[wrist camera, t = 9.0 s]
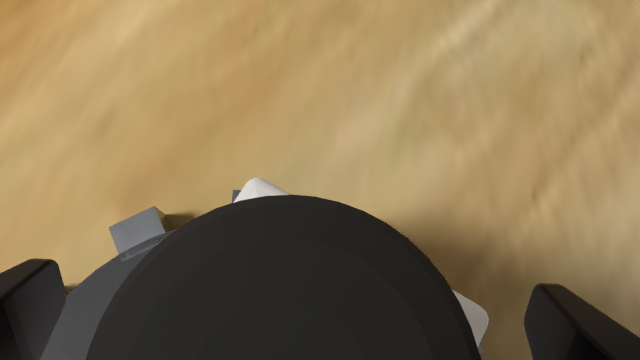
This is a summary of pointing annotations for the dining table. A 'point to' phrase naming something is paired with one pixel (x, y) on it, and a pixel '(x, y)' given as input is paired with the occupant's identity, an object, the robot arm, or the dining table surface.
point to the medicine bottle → (287, 290)
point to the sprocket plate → (108, 284)
